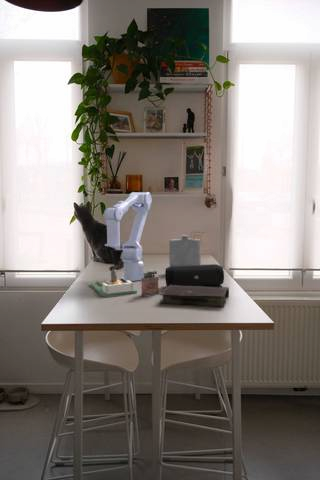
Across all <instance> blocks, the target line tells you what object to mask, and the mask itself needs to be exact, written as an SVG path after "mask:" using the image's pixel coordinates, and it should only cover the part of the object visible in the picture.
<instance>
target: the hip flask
mask: <svg viewBox="0 0 320 480" xmlns="http://www.w3.org/2000/svg"><path fill="white" fill-rule="evenodd" d="M180 237H181V238H180V239H179V238H178V239H169V240H168V241H169V243H168V245H169V251H168V252H169V267H170V266H183V265H202V264H201V263H202V262H201V257H202V255H201V252H202V251H201V250H202V249H201V239H196V238H189V235H188V234H181V236H180Z"/></svg>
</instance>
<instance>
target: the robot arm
mask: <svg viewBox="0 0 320 480" xmlns="http://www.w3.org/2000/svg"><path fill="white" fill-rule="evenodd" d="M152 202H153V199H152V195H151V193H150V192H149V191H146V192H142V191H139V192H135V191H132V192H131V193H129V194H128V197H127V198H126V199H125V200H119V201H118V202H117V203H116V204H113V206H112V207H107V209H105V210H104V214H103V217H104V220H105V224H106V237H107V238H106V239H107V240H106V241H107V242H106V243H104V246H105V247H104V250H105V252H106V254H107V255H106V256H107V259H108V262H109V263H110V264H113V265H114V266H119V265H120V260H121V261H122V263H123V276H122V277H121V280H122V281H123V280H124V282H126V280H129V281H131V282H135V281H142V280H141V278H142V277H144V273H145V266H144V262H143V261H142V258H143V246H142V245H141V244H140V241H141V238H142V234H143V230H144V227H145V224H146V219H147V216H148V212H149V211H150V209H151V205H152ZM130 207H132V209H133V211H134V212H135V213H136V215H135V218H134V221H133V225H132V228H131V232H130V234H129V235H130V236H129V239H128V241H125V243H123V245H122V247H121V243H120V242H121V237H120V236H121V235H120V234H121V231H120V229H121V228H120V223H121V222H120V221H121V220H122V218H123V216H124V215H125V214H126V213H127V212H128V211H129V209H130Z"/></svg>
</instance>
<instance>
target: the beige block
mask: <svg viewBox="0 0 320 480" xmlns="http://www.w3.org/2000/svg"><path fill="white" fill-rule="evenodd" d="M117 277H118V275H117V269H110V280H109V279H108V280H105V282H106V284H107V285H113V284H114V283H115V282H120V283H121V284H122V281H123V280H121V279H117ZM120 280H121V281H120Z"/></svg>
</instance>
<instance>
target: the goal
mask: <svg viewBox="0 0 320 480" xmlns="http://www.w3.org/2000/svg"><path fill="white" fill-rule="evenodd" d="M133 289H134V283H133V281H129V280H126V281H125V282H124V283H123V284H113V285H107V284H106V283H102V290H103V292H105V293H106V294H110V293H119V292H128V291H133Z"/></svg>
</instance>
